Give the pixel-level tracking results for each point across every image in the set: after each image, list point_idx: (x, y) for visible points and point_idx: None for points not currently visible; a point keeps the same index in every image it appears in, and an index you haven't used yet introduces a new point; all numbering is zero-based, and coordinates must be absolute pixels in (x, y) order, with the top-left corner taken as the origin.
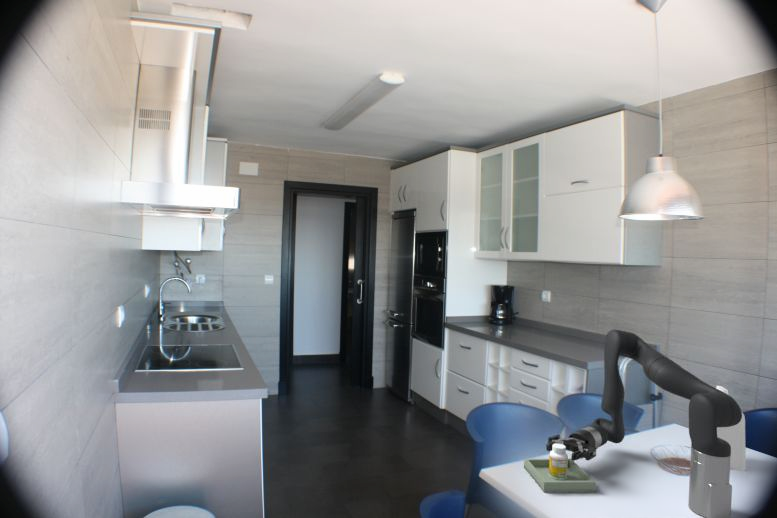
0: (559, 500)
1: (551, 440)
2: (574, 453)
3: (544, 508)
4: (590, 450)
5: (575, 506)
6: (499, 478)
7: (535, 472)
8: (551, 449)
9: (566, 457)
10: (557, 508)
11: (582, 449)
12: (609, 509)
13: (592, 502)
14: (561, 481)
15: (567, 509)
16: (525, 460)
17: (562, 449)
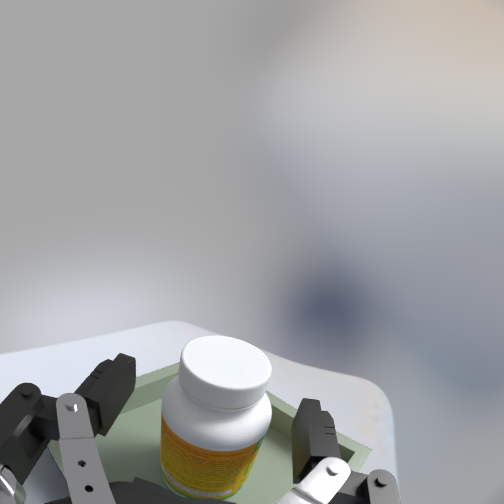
0: (152, 359)
1: (361, 487)
2: (118, 356)
3: (176, 326)
4: (1, 420)
5: (109, 349)
6: (334, 378)
7: (266, 392)
8: (293, 447)
9: (165, 388)
10: (150, 332)
11: (61, 421)
12: (22, 357)
13: (61, 376)
14: (160, 373)
15: (127, 335)
16: (359, 444)
17: (192, 343)
